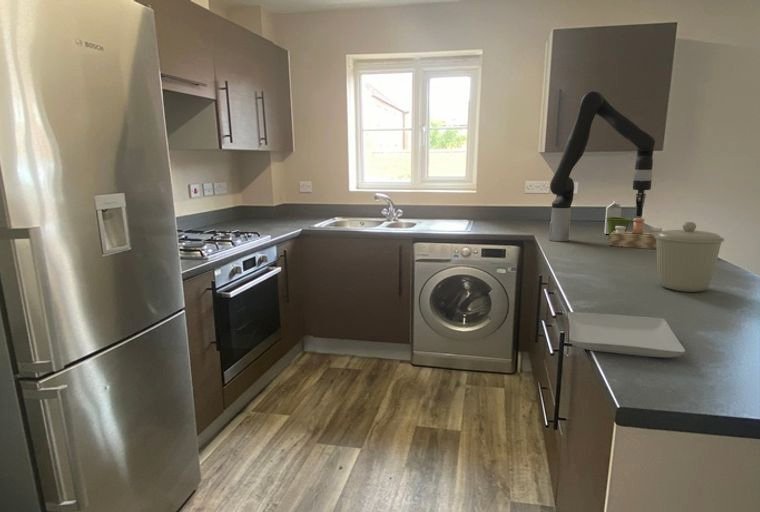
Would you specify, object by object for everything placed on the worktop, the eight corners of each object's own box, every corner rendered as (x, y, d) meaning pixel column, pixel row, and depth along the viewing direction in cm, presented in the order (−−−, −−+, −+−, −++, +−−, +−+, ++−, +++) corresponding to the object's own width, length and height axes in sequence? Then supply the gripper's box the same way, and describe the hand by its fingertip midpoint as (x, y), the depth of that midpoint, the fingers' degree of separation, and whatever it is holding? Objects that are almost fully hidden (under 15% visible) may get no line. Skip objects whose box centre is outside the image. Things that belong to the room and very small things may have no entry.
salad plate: (568, 354, 97) (569, 338, 96) (566, 322, 116) (567, 309, 115) (686, 367, 89) (688, 351, 89) (662, 331, 109) (664, 317, 108)
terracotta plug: (631, 236, 220) (632, 219, 218) (632, 234, 223) (633, 218, 222) (642, 236, 217) (643, 219, 216) (643, 235, 221) (644, 218, 219)
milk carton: (605, 235, 257) (607, 201, 254) (604, 233, 264) (606, 200, 260) (619, 235, 255) (622, 201, 251) (618, 233, 261) (620, 200, 258)
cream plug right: (648, 245, 216) (650, 228, 215) (649, 244, 220) (650, 227, 218) (659, 246, 214) (661, 229, 212) (660, 245, 217) (662, 228, 216)
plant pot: (603, 240, 239) (605, 218, 237) (604, 237, 250) (606, 216, 248) (629, 241, 234) (631, 219, 232) (629, 238, 244) (631, 217, 242)
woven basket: (609, 245, 223) (610, 233, 222) (612, 242, 231) (613, 231, 230) (662, 249, 211) (663, 236, 210) (663, 246, 219) (664, 233, 218)
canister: (720, 299, 133) (729, 226, 129) (648, 291, 142) (654, 223, 138) (715, 285, 148) (723, 220, 144) (650, 279, 157) (656, 217, 153)
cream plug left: (613, 243, 225) (614, 226, 223) (614, 242, 228) (616, 225, 227) (623, 244, 222) (625, 227, 221) (625, 242, 226) (626, 226, 224)
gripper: (635, 179, 223) (631, 214, 226) (631, 180, 212) (628, 217, 215) (652, 179, 219) (649, 215, 222) (650, 180, 208) (646, 218, 211)
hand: (638, 216), depth 219 cm, fingers closed
